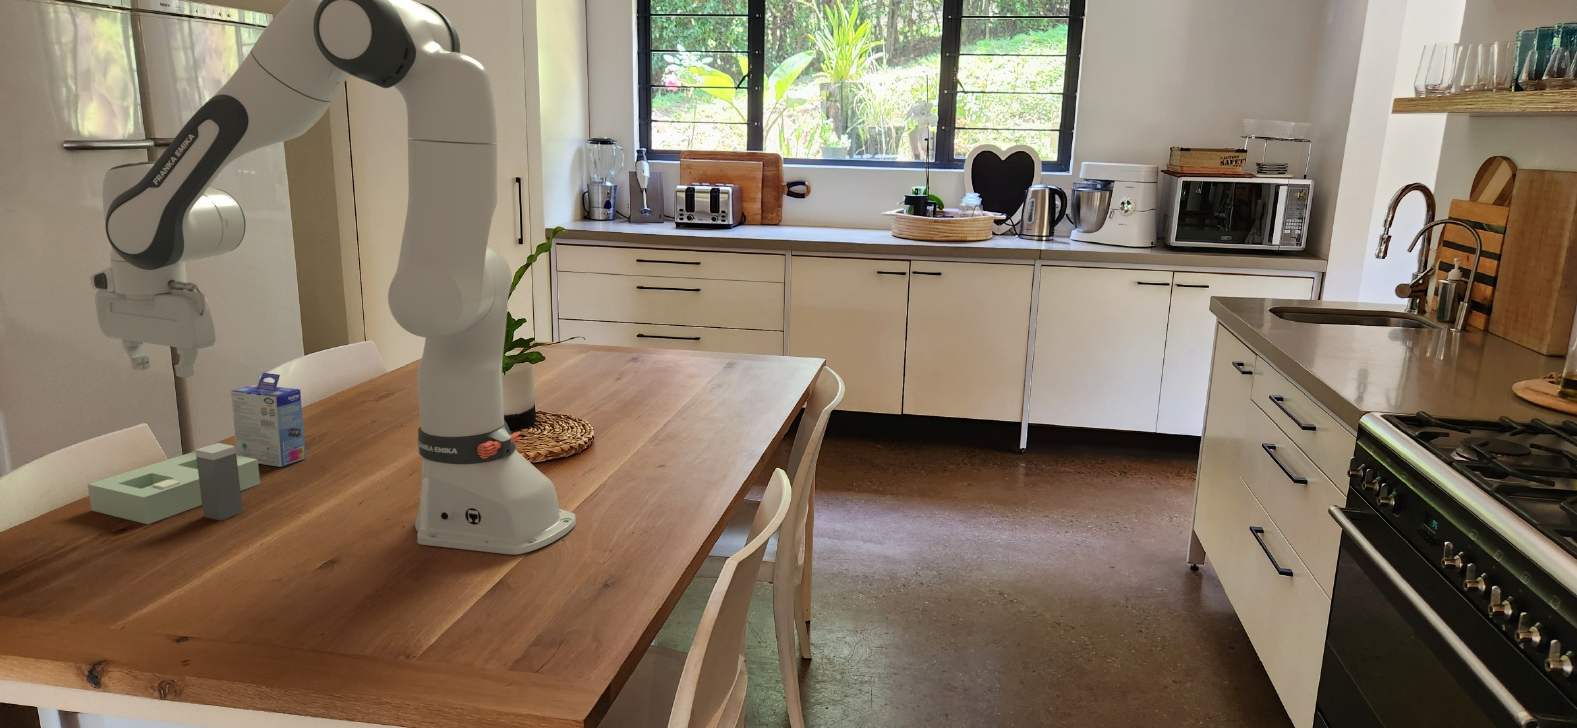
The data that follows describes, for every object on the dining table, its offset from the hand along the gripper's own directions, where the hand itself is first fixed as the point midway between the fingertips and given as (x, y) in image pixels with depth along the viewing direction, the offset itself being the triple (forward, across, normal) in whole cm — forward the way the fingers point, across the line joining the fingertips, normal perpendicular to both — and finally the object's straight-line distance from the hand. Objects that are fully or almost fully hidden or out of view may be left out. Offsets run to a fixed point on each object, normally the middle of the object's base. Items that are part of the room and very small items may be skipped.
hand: (163, 372), depth 144 cm
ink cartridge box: (+19, +2, -18) cm, 27 cm away
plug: (+19, -12, +2) cm, 23 cm away
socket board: (+19, 0, 0) cm, 19 cm away
